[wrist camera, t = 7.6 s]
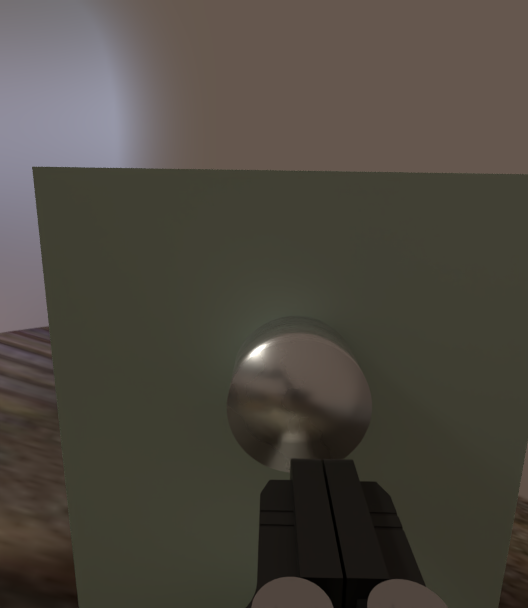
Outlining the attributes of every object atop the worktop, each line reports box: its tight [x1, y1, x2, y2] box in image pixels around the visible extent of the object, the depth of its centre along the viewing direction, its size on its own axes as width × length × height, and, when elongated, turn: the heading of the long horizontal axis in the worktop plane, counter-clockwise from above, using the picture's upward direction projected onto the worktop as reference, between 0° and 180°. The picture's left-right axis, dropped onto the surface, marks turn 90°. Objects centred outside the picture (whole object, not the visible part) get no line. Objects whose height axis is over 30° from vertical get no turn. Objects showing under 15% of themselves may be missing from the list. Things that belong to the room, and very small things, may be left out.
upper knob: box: [227, 316, 372, 473], centre depth 19 cm, size 7×5×5 cm
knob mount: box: [32, 167, 528, 608], centre depth 24 cm, size 8×20×28 cm, turn 89°
